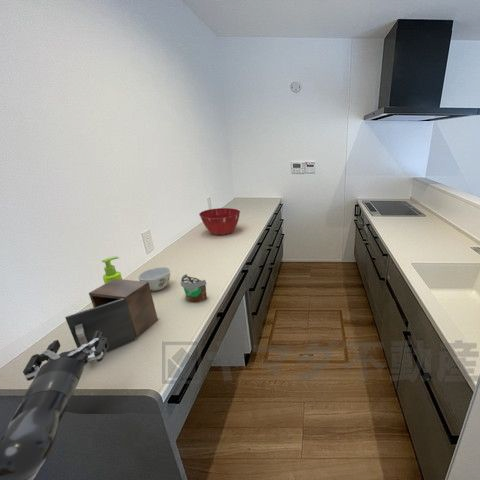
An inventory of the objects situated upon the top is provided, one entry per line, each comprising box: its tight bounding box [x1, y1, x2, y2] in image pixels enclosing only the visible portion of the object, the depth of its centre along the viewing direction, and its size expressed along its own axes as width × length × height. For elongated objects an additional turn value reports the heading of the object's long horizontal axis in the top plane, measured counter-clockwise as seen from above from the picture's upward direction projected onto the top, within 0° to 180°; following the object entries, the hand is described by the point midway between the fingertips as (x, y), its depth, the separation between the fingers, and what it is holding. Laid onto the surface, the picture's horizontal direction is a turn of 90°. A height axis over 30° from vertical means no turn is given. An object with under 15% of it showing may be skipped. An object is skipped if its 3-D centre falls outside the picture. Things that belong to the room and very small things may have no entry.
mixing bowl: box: [199, 207, 241, 236], centre depth 195 cm, size 28×28×16 cm
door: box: [65, 298, 137, 353], centre depth 82 cm, size 6×14×17 cm, turn 135°
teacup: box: [137, 266, 171, 292], centre depth 121 cm, size 15×12×8 cm
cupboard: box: [88, 278, 159, 339], centre depth 94 cm, size 10×14×17 cm
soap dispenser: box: [101, 256, 123, 284], centre depth 109 cm, size 6×7×20 cm
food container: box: [180, 273, 208, 303], centre depth 113 cm, size 12×6×10 cm, turn 65°
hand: (78, 337), depth 69 cm, fingers open, 8 cm apart
